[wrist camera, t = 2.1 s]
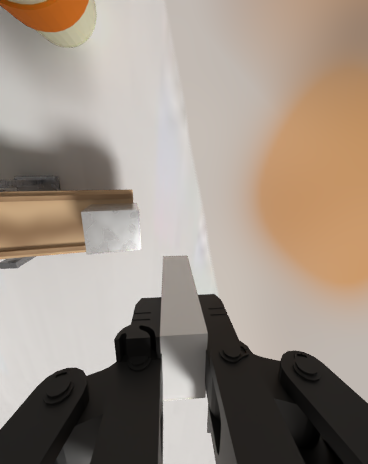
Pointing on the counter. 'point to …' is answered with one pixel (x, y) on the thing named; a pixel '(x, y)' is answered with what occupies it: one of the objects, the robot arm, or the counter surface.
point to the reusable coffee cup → (56, 19)
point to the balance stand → (28, 185)
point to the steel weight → (111, 228)
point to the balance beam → (48, 220)
